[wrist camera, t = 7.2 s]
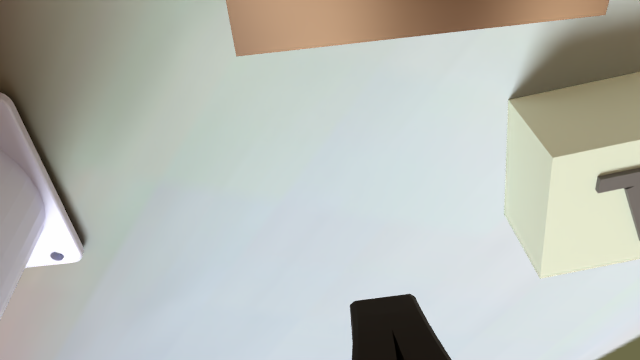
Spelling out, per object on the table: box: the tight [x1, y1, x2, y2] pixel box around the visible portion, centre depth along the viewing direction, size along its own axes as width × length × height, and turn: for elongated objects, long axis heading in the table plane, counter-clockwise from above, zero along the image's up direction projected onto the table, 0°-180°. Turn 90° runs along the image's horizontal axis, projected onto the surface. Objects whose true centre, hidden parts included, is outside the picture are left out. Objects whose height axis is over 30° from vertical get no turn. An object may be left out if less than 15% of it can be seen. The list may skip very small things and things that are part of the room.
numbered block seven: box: [504, 72, 640, 279], centre depth 20 cm, size 6×6×4 cm
